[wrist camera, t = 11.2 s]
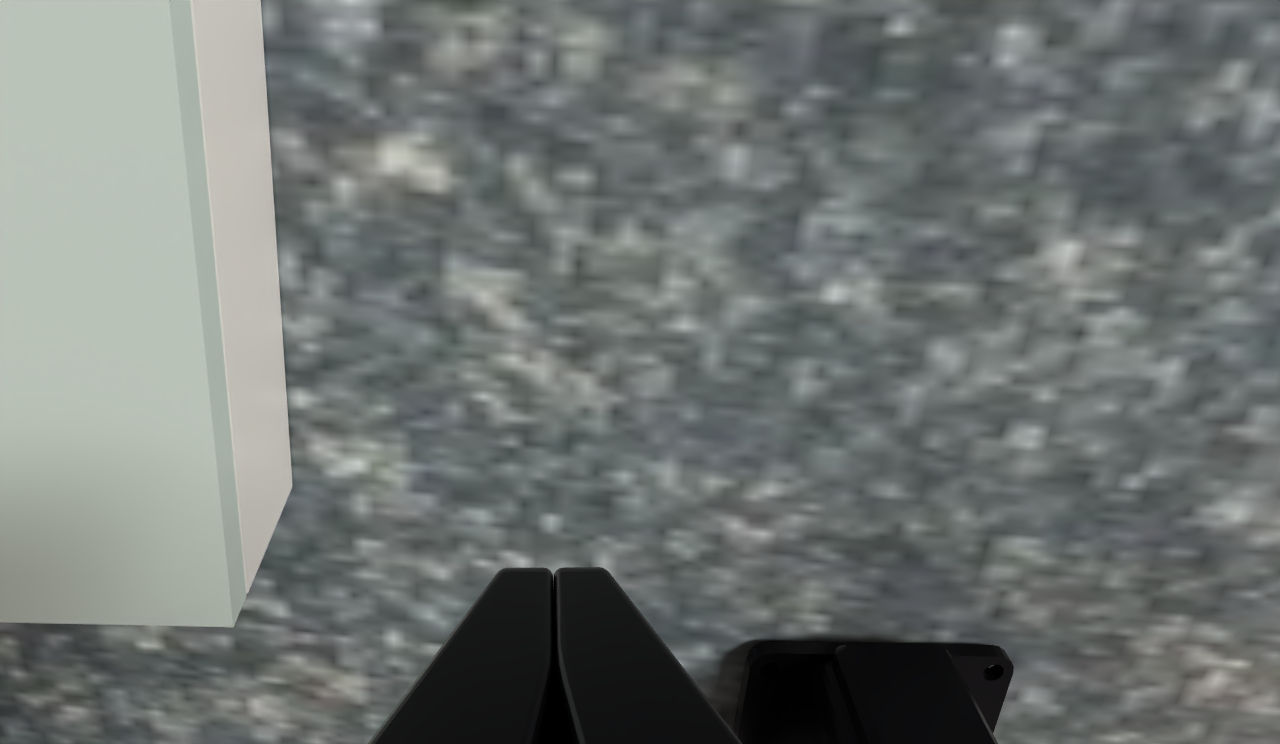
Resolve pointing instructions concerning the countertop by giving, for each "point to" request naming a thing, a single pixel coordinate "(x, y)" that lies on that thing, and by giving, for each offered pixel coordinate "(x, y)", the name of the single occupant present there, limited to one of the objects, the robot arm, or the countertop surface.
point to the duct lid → (110, 325)
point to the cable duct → (245, 260)
